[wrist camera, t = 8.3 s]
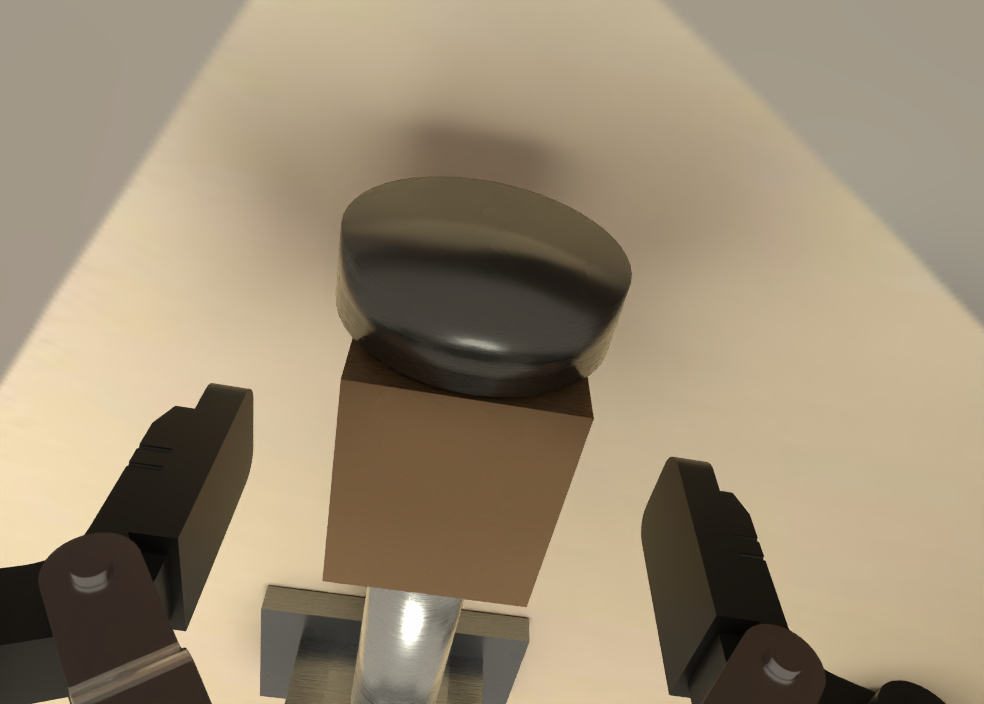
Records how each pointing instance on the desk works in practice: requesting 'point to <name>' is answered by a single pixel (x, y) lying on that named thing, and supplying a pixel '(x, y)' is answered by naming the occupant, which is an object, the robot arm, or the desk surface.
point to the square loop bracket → (335, 639)
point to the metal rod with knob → (458, 407)
